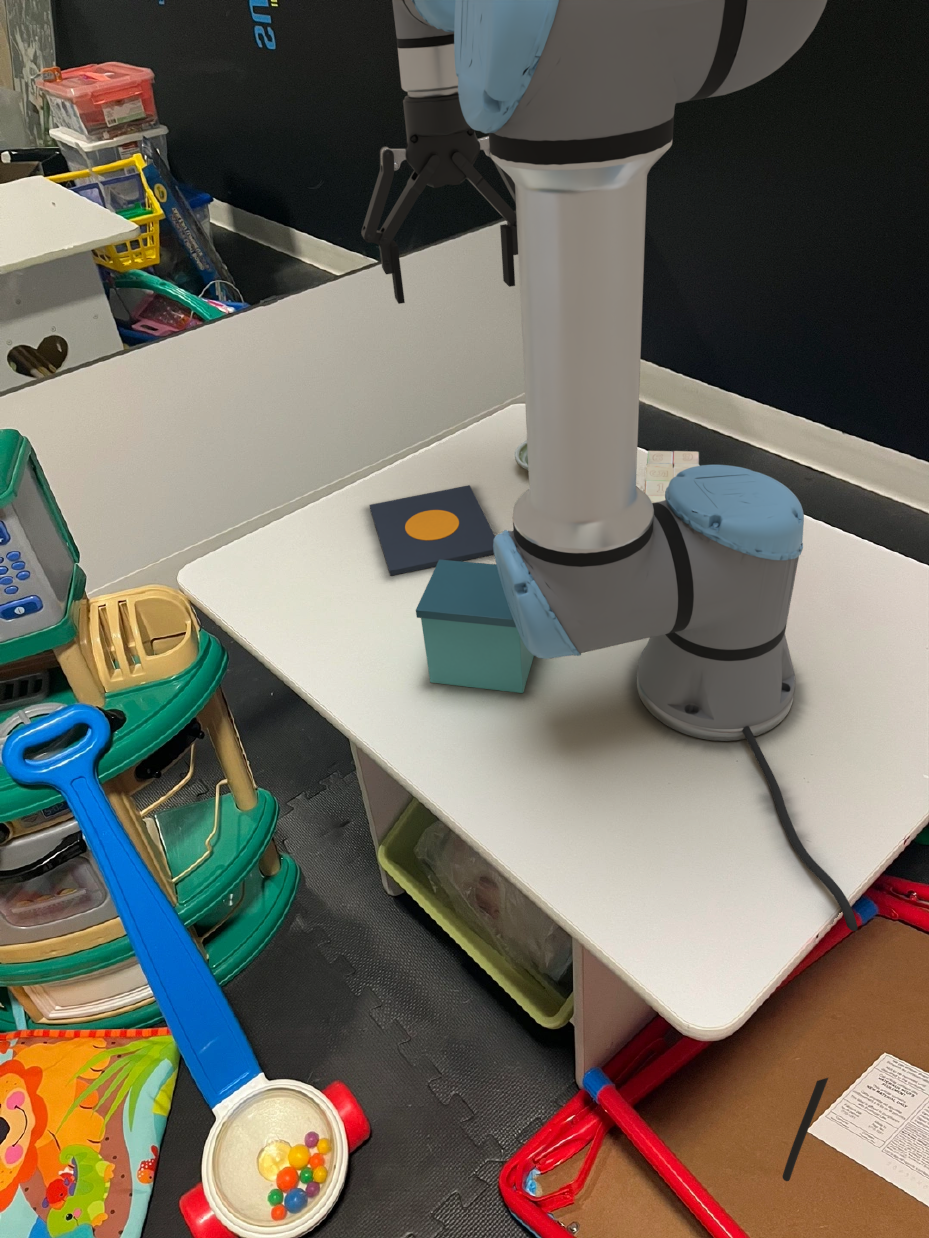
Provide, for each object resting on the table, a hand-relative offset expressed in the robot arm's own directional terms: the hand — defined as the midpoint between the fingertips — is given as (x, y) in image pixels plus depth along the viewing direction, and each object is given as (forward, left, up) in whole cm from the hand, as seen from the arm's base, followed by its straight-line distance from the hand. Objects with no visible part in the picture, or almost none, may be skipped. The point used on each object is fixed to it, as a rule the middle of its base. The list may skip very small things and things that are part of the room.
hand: (455, 292), depth 111 cm
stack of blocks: (-27, -17, -27) cm, 42 cm away
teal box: (-37, +8, -26) cm, 46 cm away
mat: (-10, +8, -26) cm, 29 cm away
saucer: (0, -11, -27) cm, 29 cm away
